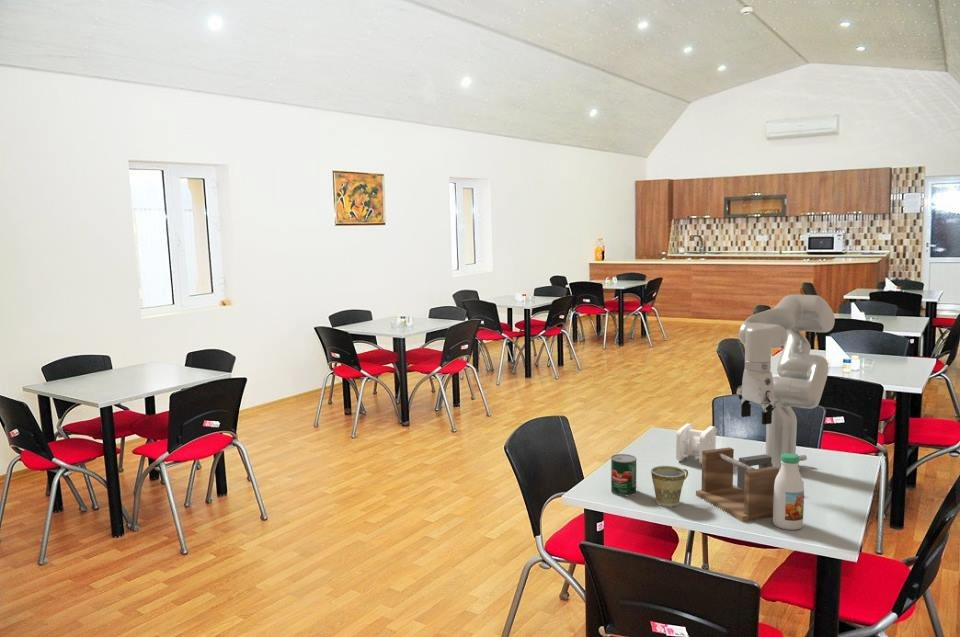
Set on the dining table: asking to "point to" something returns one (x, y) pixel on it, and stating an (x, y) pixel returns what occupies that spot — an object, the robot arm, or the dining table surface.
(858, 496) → the dining table surface
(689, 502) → the dining table surface
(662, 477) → the ceramic cup
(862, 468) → the dining table surface
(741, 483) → the grey arch block
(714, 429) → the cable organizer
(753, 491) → the wooden rod bracket
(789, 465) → the milk bottle
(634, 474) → the canned tomato
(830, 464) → the dining table surface
